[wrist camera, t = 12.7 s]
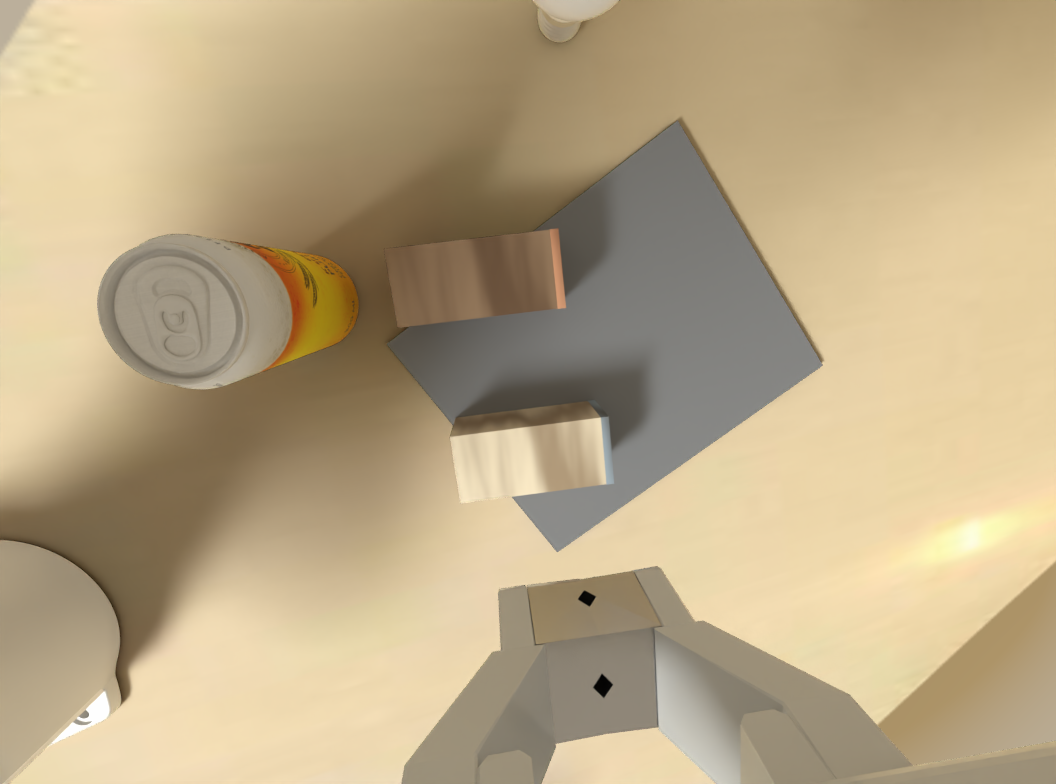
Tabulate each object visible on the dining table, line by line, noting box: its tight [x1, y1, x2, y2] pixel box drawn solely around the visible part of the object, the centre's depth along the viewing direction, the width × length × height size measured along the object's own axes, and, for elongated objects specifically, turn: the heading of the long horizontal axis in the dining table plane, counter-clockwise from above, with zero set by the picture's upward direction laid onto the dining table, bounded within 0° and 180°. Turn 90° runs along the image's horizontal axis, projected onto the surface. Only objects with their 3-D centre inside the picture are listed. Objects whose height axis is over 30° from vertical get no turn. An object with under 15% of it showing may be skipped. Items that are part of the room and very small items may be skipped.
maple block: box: [450, 400, 614, 504], centre depth 33 cm, size 4×4×10 cm
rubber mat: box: [387, 120, 823, 552], centre depth 35 cm, size 24×20×1 cm
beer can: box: [97, 234, 359, 389], centre depth 26 cm, size 6×6×15 cm
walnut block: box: [384, 228, 566, 328], centre depth 31 cm, size 4×4×10 cm
